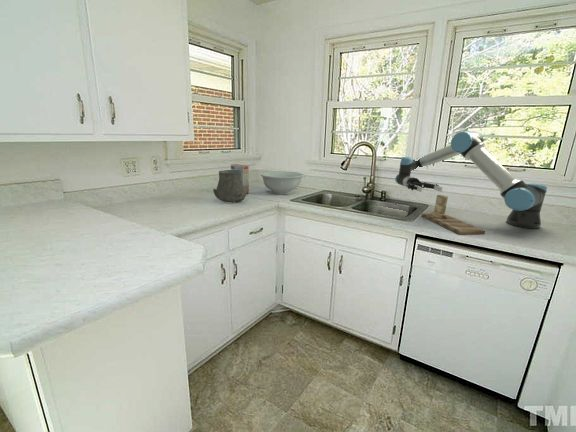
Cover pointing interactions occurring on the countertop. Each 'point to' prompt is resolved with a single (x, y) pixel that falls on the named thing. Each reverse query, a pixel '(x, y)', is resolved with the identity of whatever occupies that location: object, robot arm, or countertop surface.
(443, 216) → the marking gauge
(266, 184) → the bowl
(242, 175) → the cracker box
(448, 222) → the walnut board
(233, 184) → the vessel
